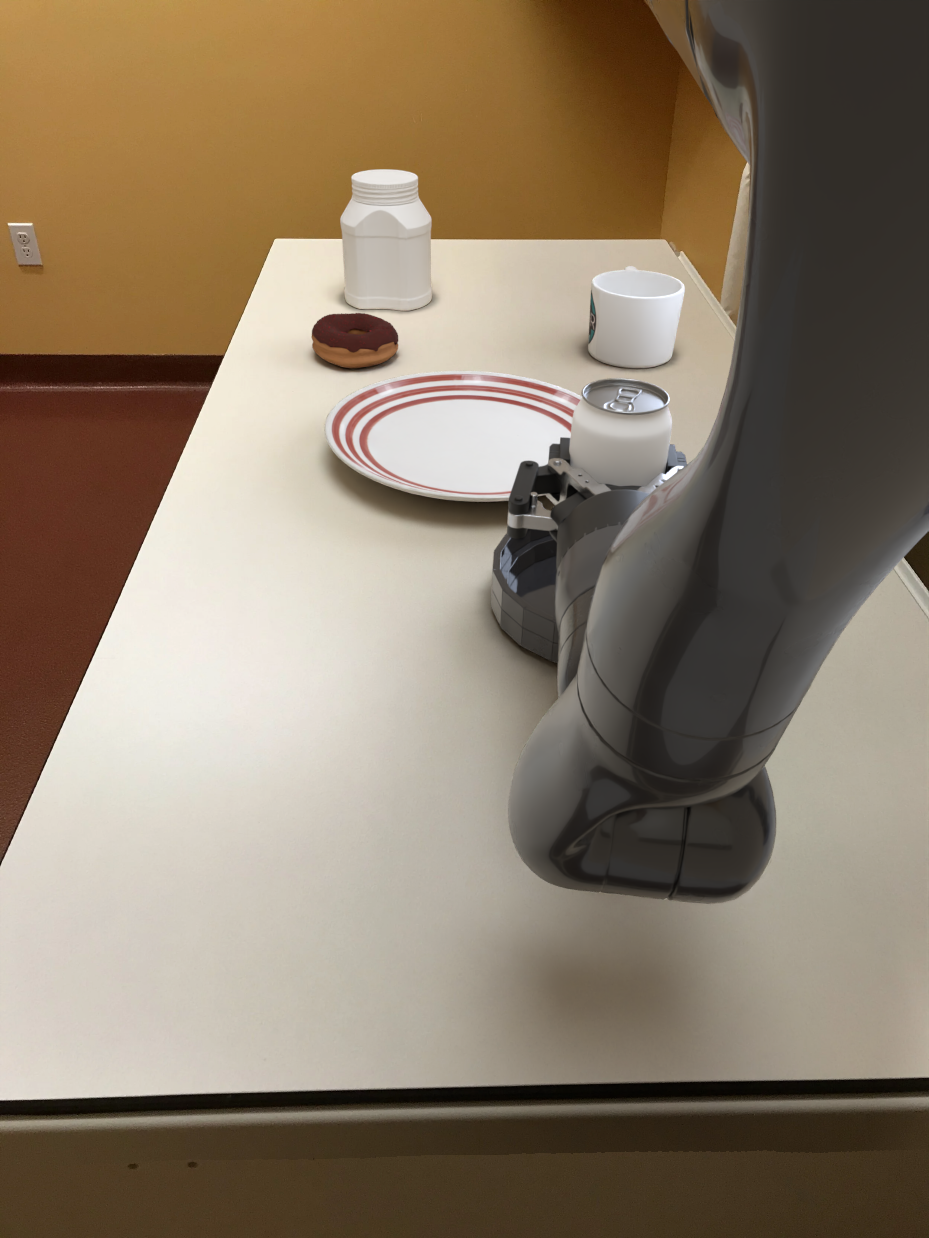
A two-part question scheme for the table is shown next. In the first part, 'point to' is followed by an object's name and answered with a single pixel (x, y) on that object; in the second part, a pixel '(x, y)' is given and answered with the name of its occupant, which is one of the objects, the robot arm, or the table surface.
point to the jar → (386, 242)
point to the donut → (354, 339)
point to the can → (621, 431)
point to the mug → (634, 317)
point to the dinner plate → (450, 431)
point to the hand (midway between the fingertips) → (615, 453)
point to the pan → (527, 591)
